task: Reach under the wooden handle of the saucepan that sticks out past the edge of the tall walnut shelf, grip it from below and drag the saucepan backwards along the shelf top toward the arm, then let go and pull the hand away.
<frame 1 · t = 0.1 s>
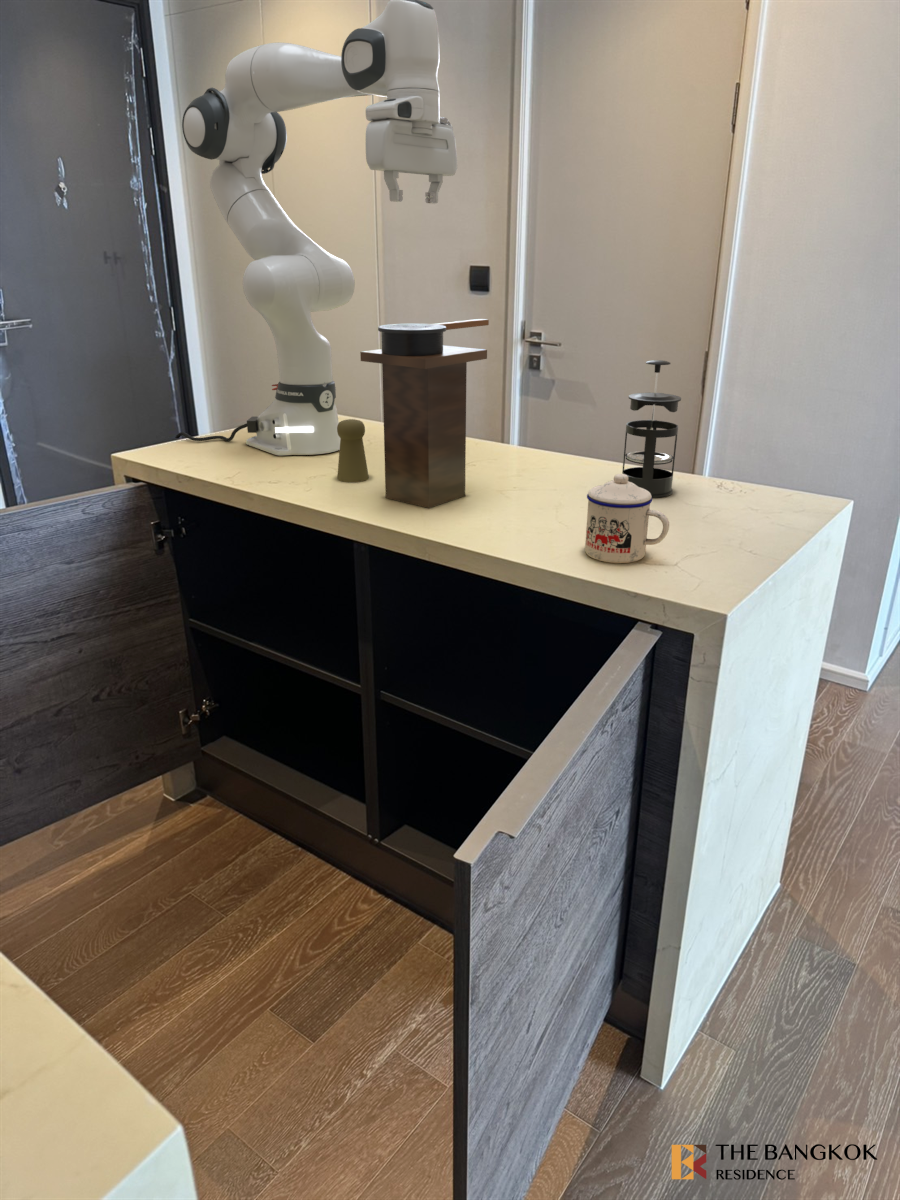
hand: (414, 202, 151), 48 cm above the table, tool pointing down, fingers open, 8 cm apart
french press: (645, 491, 157), on the table
stand: (425, 496, 152), on the table
cork: (353, 479, 164), on the table
saucepan: (412, 352, 140), point 25 cm above the table, touching stand
teacup with lid: (624, 556, 124), on the table
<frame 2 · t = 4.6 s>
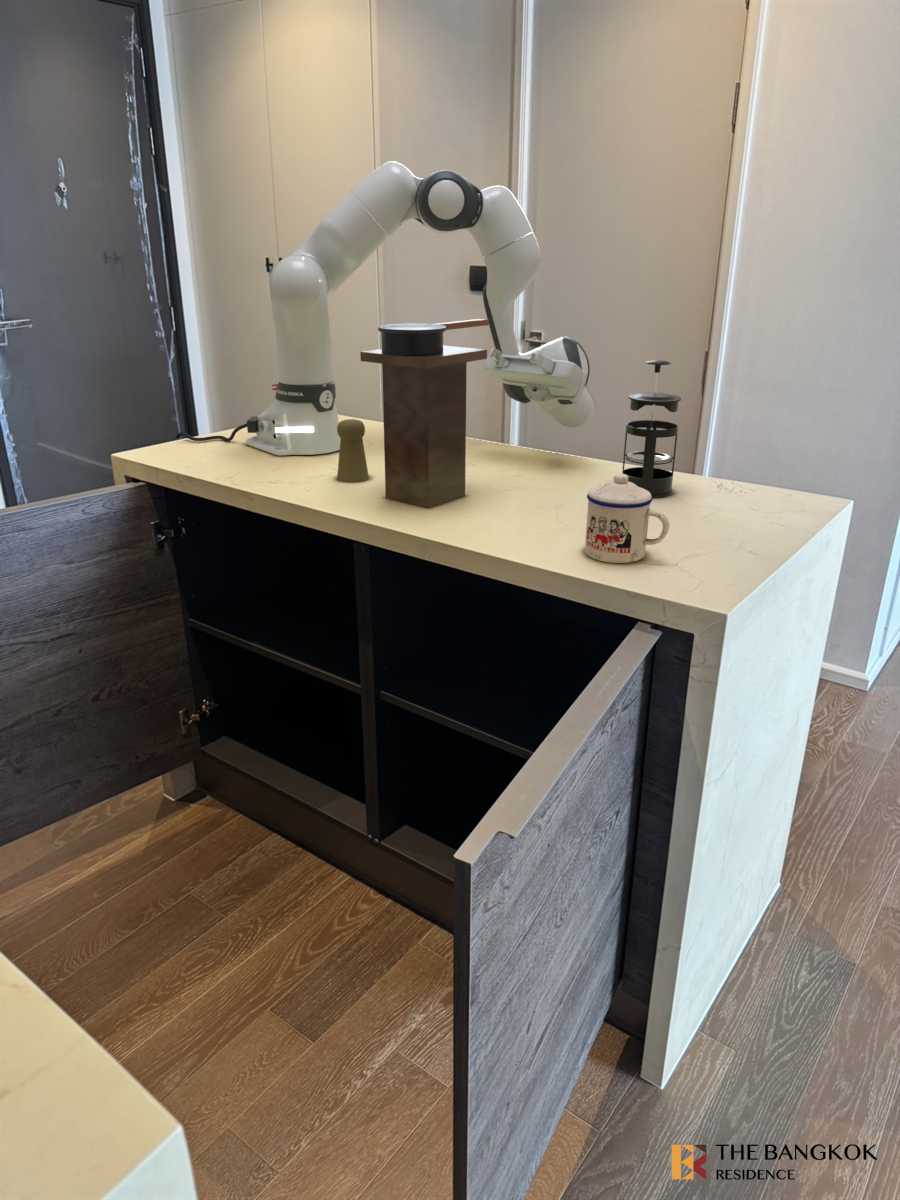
hand: (513, 354, 162), 22 cm above the table, tool pointing upward, fingers open, 8 cm apart
nothing on the table moved.
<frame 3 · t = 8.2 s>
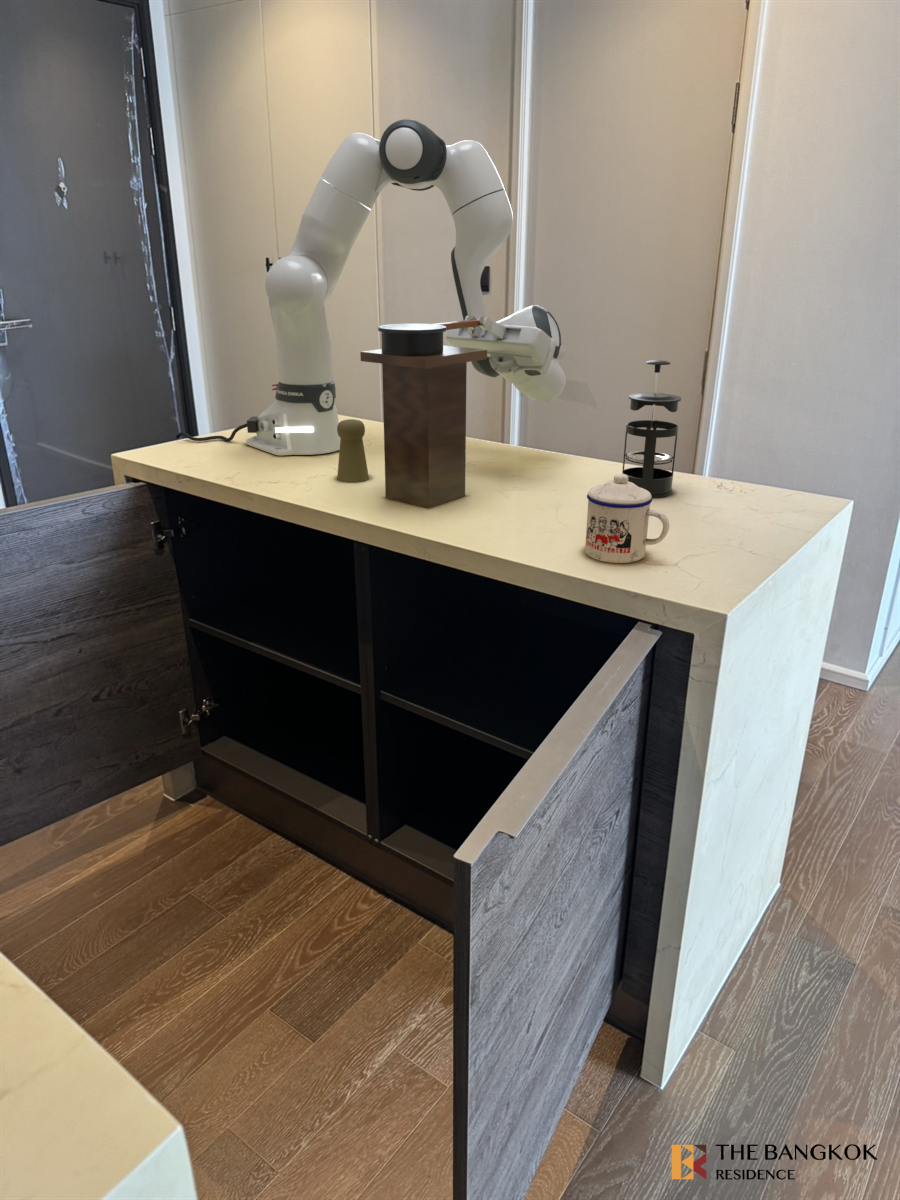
hand: (475, 320, 151), 29 cm above the table, tool pointing upward, fingers closed on saucepan, 2 cm apart
saucepan: (412, 352, 140), point 25 cm above the table, touching gripper, stand
everything else where it was.
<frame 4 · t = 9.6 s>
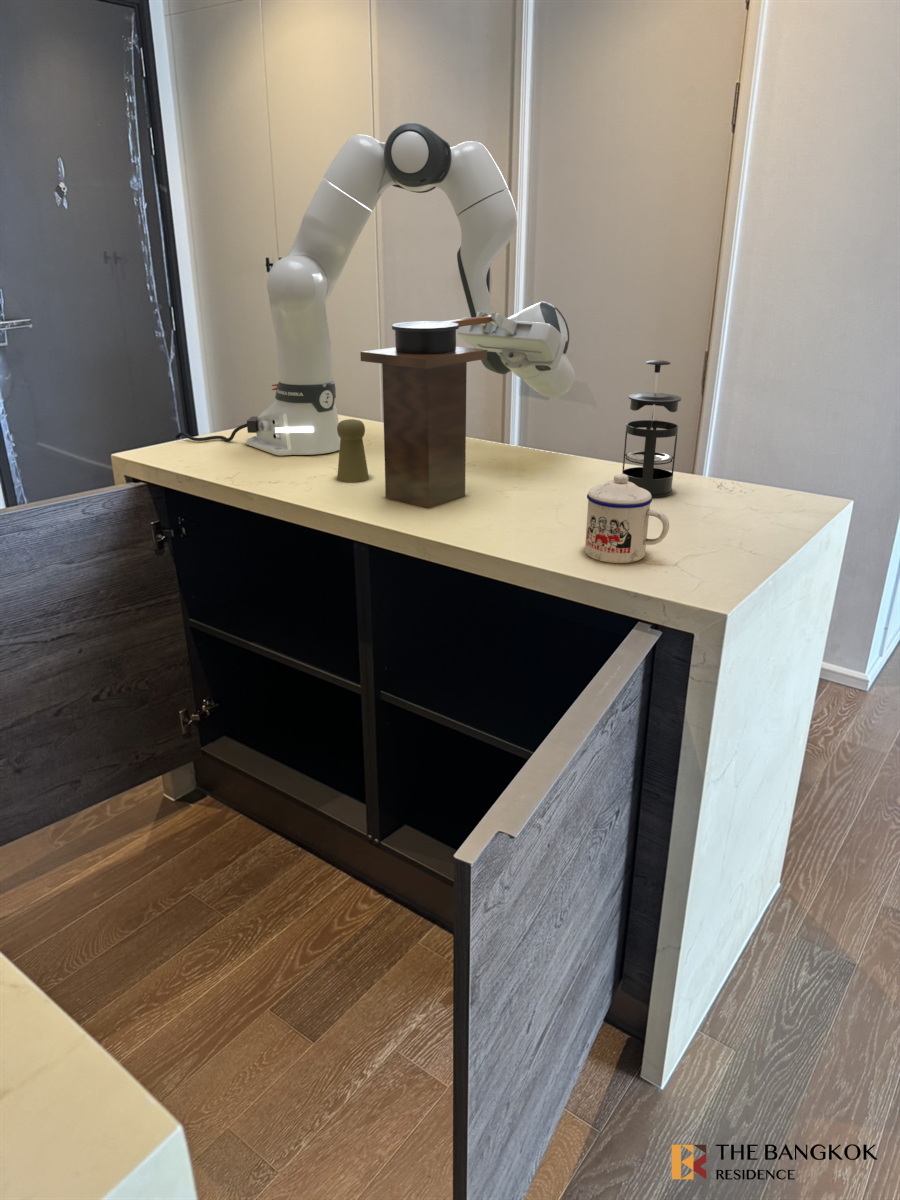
hand: (486, 316, 153), 29 cm above the table, tool pointing upward, fingers closed on saucepan, 2 cm apart
saucepan: (425, 349, 143), point 25 cm above the table, touching gripper
everything else where it was.
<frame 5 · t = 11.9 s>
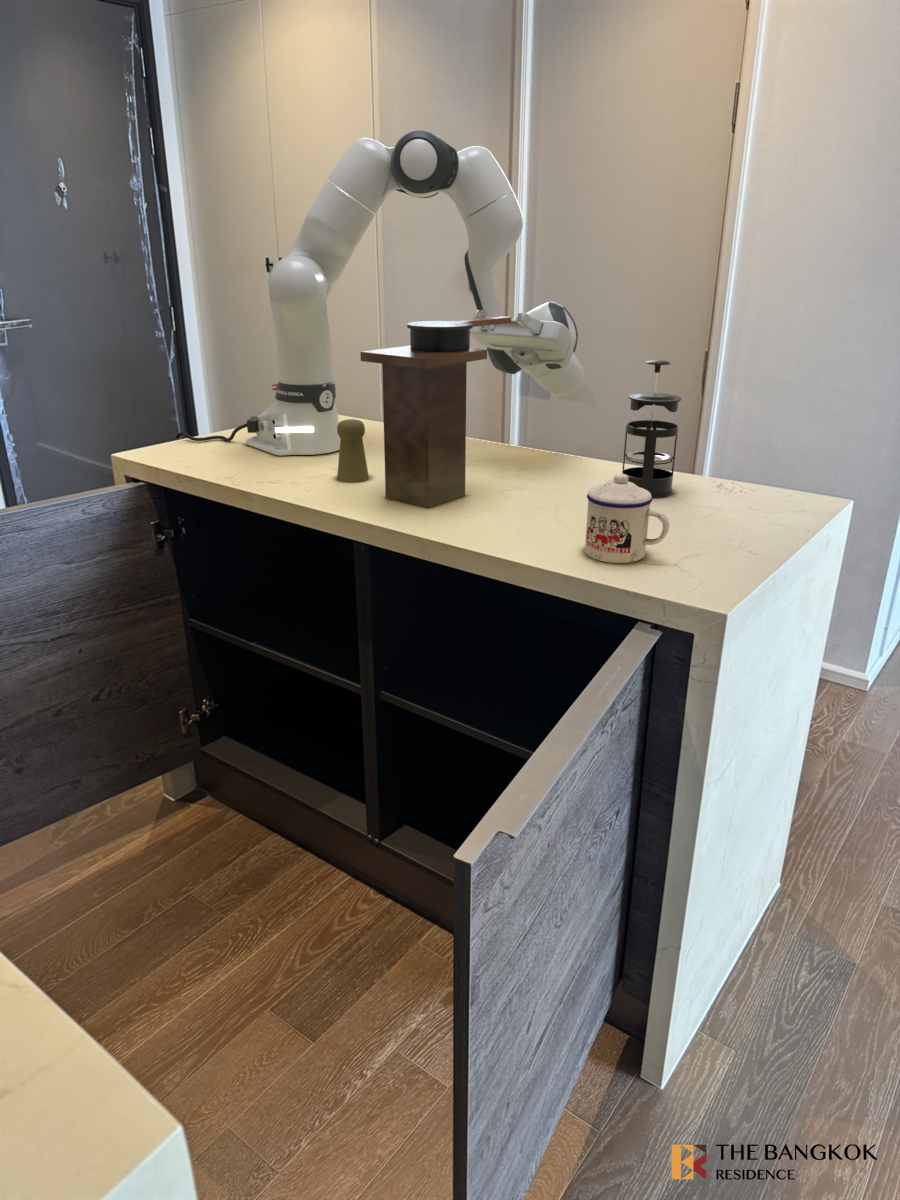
hand: (498, 315, 156), 29 cm above the table, tool pointing upward, fingers open, 8 cm apart
saucepan: (440, 348, 145), point 25 cm above the table, touching stand
everything else where it was.
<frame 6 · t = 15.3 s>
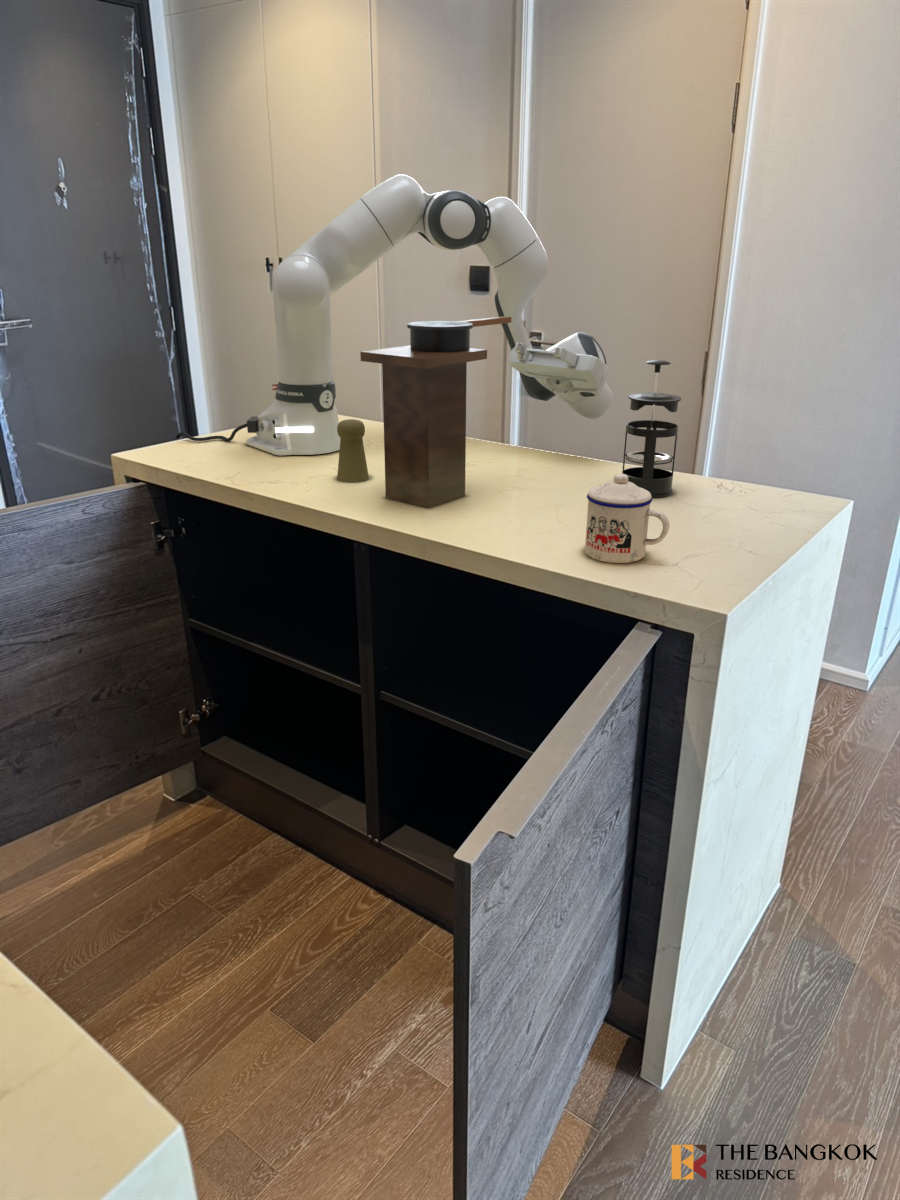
hand: (537, 348, 168), 22 cm above the table, tool pointing upward, fingers open, 8 cm apart
nothing on the table moved.
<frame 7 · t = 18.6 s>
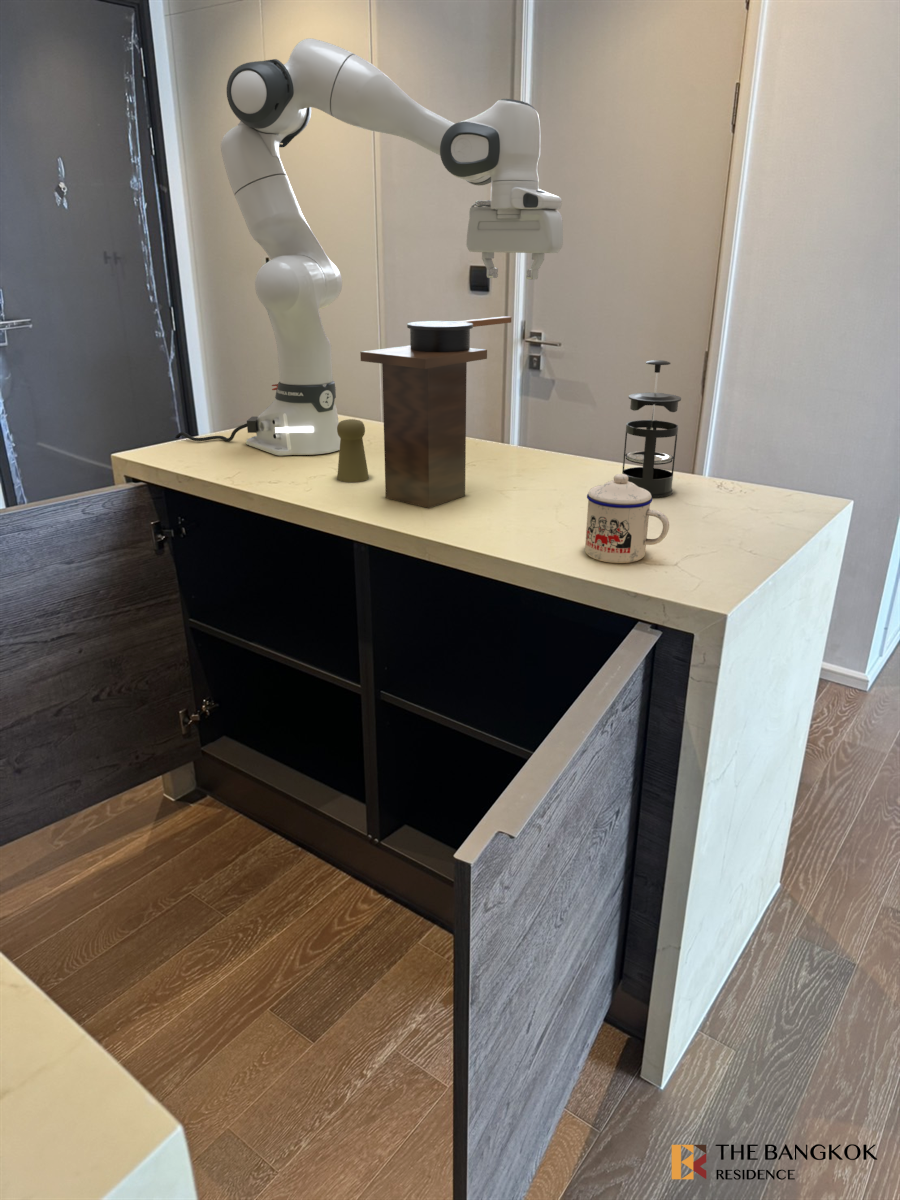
hand: (511, 278, 166), 35 cm above the table, tool pointing down, fingers open, 8 cm apart
nothing on the table moved.
at the end: saucepan moved 7.0 cm from its start; saucepan inside the target area (0.1 cm from its centre), point 25.0 cm above the table; saucepan tilted 0° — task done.
